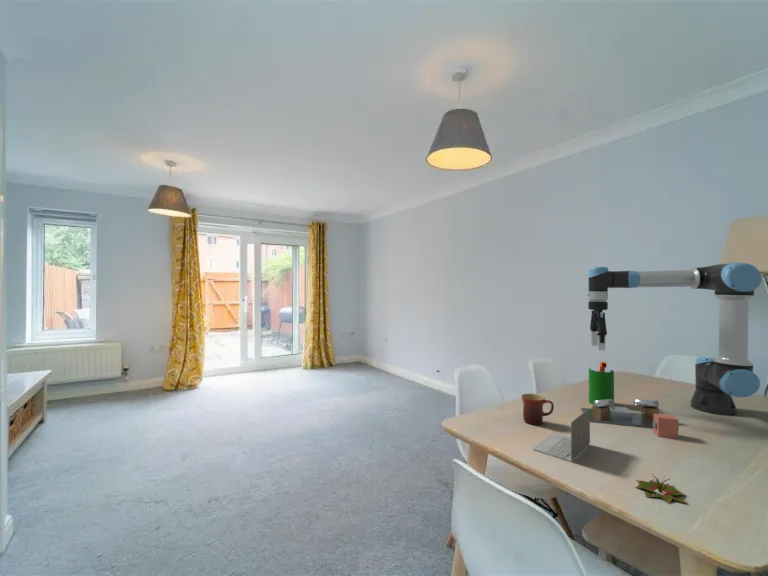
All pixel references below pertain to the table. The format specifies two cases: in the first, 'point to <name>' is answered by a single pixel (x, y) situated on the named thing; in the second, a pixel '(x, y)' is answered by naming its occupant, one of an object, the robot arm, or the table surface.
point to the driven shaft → (602, 409)
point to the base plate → (631, 414)
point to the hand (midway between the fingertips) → (597, 347)
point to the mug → (534, 408)
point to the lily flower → (670, 490)
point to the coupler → (666, 426)
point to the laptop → (568, 440)
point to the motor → (601, 384)
